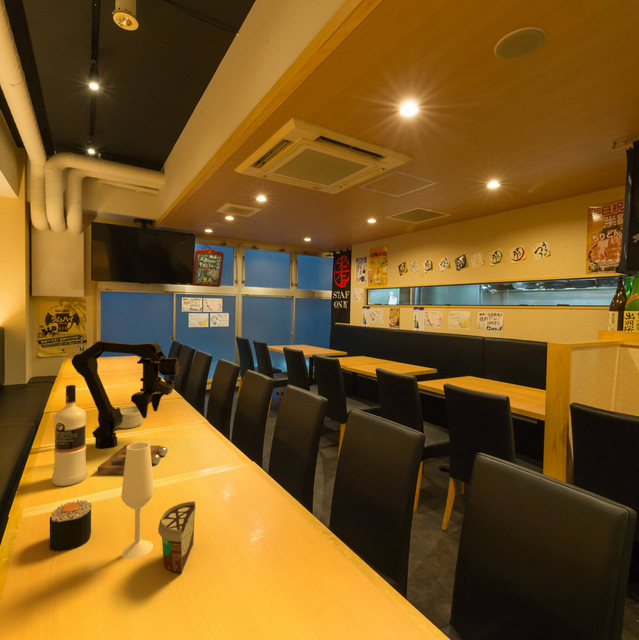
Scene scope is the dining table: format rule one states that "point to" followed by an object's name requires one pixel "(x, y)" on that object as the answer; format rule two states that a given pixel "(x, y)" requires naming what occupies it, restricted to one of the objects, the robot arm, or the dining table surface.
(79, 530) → the sushi
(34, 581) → the dining table surface
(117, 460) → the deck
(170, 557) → the food container
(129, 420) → the ramekin
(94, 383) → the robot arm
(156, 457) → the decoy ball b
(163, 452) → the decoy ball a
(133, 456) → the champagne flute
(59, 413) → the vodka
